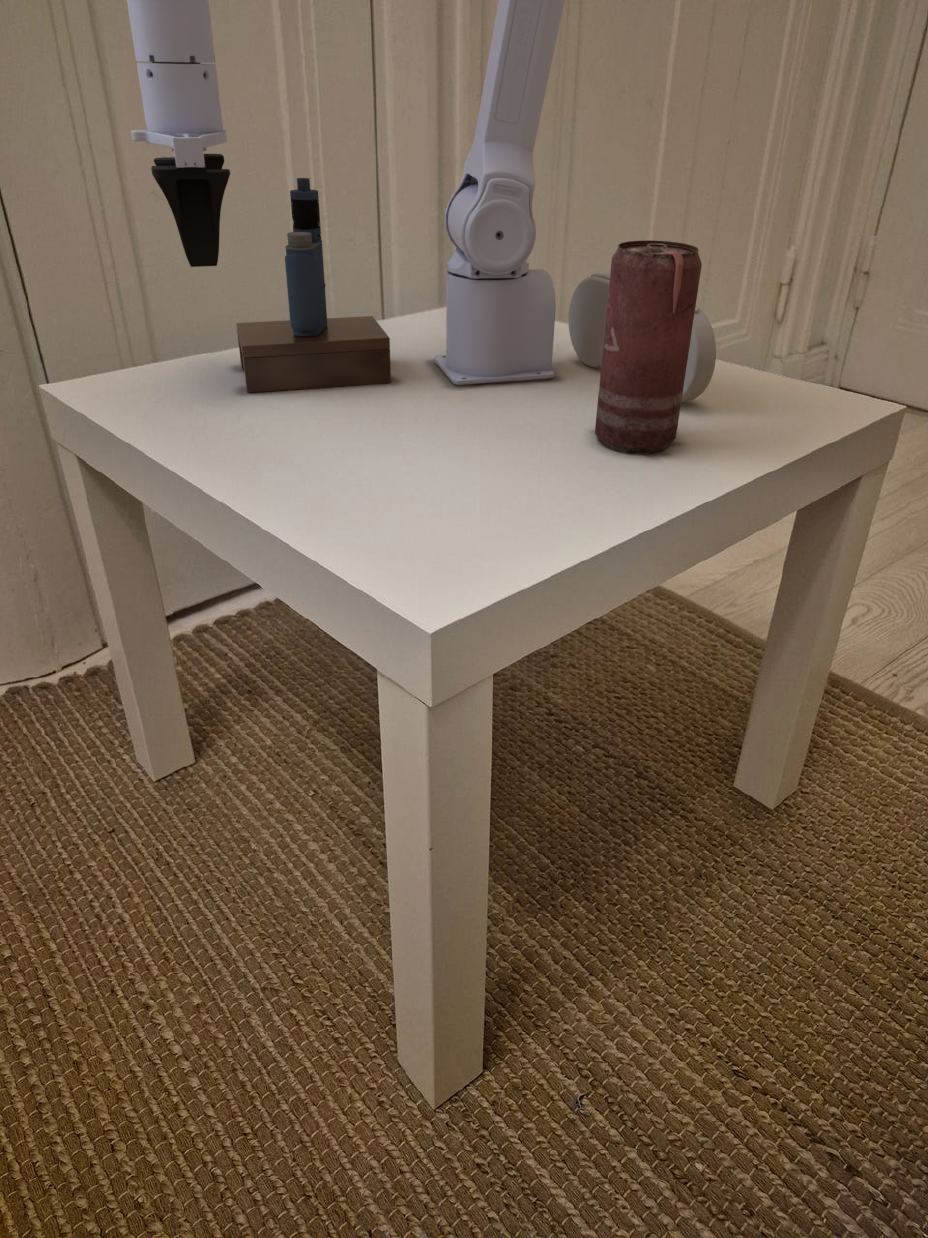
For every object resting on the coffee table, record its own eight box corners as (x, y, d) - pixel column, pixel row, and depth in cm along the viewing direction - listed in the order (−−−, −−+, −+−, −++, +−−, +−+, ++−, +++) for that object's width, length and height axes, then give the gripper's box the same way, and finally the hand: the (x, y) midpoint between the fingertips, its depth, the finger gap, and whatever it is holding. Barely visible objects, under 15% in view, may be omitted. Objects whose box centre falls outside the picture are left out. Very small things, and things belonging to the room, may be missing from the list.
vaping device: (331, 323, 81) (321, 177, 75) (317, 338, 77) (306, 184, 70) (303, 322, 81) (291, 176, 75) (288, 337, 77) (274, 183, 70)
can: (627, 462, 64) (652, 256, 57) (578, 434, 69) (595, 240, 62) (693, 449, 67) (725, 250, 59) (641, 422, 71) (665, 235, 64)
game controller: (710, 412, 74) (727, 309, 69) (688, 416, 73) (704, 311, 69) (584, 352, 89) (591, 264, 84) (564, 355, 88) (571, 266, 83)
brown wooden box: (374, 358, 86) (372, 315, 84) (391, 382, 79) (389, 337, 77) (241, 366, 83) (236, 322, 81) (247, 392, 76) (241, 346, 74)
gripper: (124, 61, 71) (153, 243, 79) (115, 62, 60) (150, 276, 67) (214, 63, 73) (234, 240, 80) (223, 64, 61) (246, 272, 68)
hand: (202, 256), depth 74 cm, fingers open, 7 cm apart
